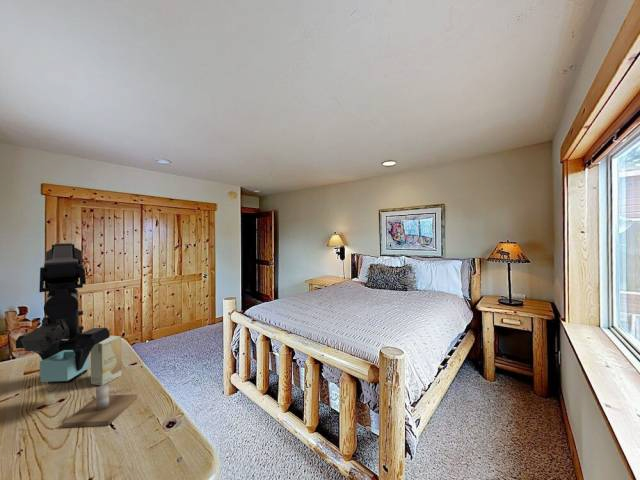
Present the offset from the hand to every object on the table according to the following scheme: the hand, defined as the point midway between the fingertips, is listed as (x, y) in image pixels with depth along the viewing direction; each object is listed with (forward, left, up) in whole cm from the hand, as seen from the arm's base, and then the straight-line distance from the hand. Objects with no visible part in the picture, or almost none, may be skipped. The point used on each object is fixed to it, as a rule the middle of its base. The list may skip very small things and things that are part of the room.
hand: (65, 370), depth 68 cm
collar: (0, 0, -1) cm, 1 cm away
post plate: (+12, -4, -9) cm, 15 cm away
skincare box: (+2, +11, -9) cm, 14 cm away
